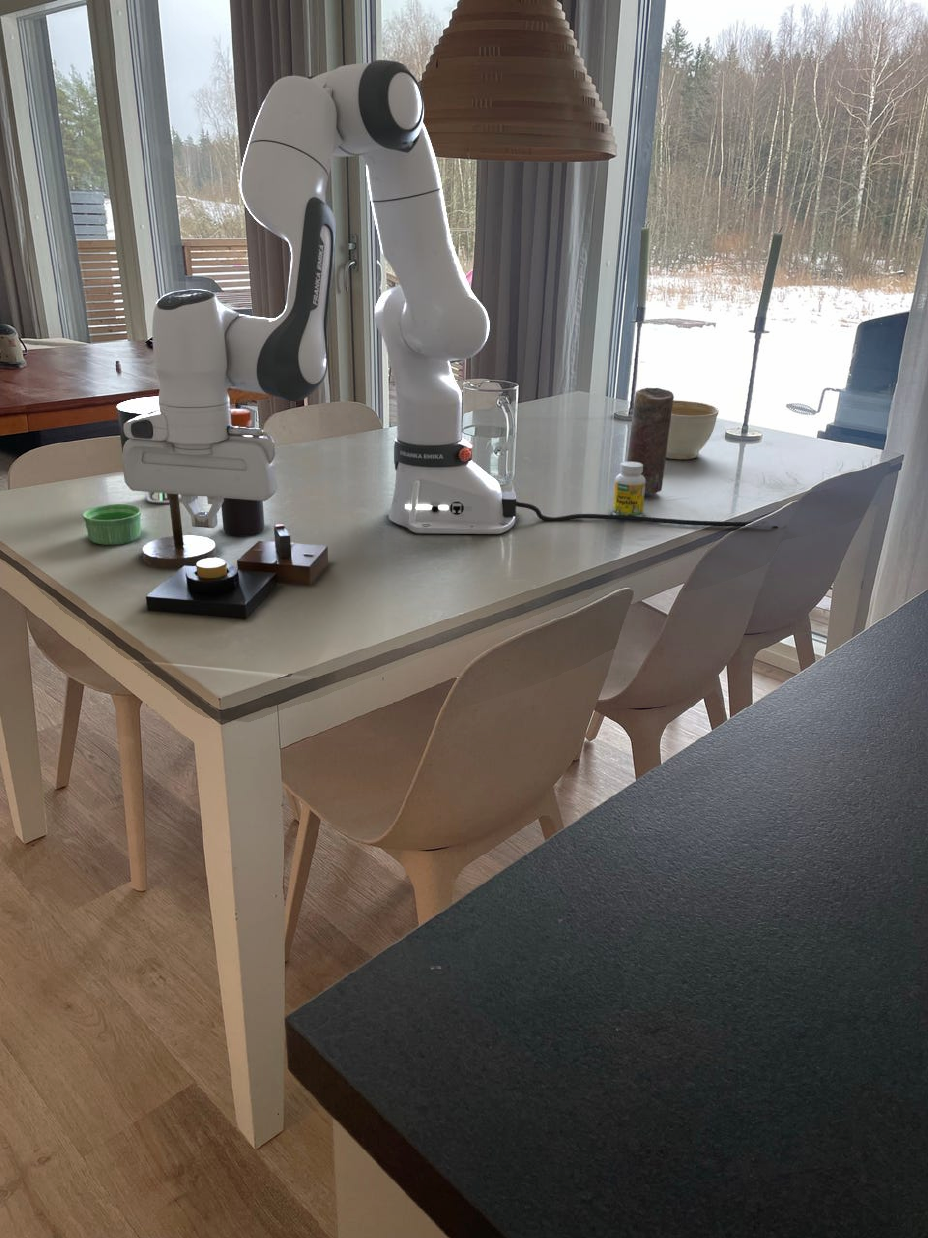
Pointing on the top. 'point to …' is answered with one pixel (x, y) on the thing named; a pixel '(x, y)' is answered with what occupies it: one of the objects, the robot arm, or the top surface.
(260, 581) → the switch block
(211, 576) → the lamp button
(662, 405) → the candle
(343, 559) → the top surface
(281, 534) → the dimmer knob
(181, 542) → the table lamp
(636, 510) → the supplement bottle
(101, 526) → the ramekin
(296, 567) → the block
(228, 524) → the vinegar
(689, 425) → the planter bowl
